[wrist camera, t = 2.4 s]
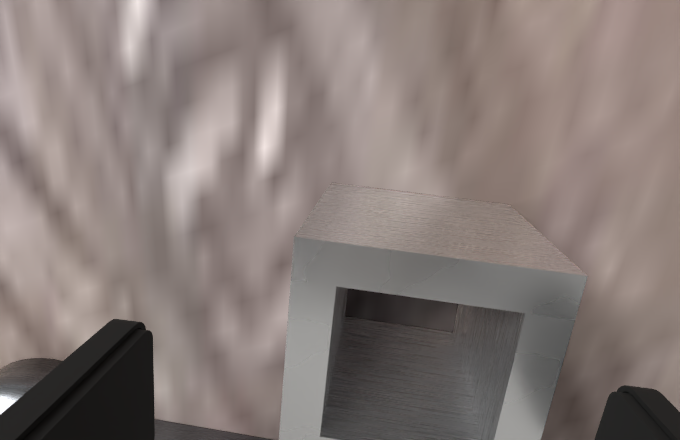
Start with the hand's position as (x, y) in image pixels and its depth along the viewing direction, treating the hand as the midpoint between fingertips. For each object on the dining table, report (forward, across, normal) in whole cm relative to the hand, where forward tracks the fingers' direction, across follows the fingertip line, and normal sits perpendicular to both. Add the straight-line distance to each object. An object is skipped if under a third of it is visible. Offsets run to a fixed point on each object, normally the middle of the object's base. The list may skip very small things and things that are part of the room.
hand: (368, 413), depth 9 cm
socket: (+7, -1, 0) cm, 7 cm away
